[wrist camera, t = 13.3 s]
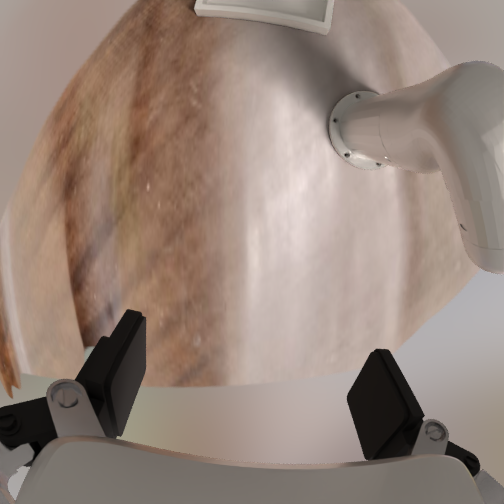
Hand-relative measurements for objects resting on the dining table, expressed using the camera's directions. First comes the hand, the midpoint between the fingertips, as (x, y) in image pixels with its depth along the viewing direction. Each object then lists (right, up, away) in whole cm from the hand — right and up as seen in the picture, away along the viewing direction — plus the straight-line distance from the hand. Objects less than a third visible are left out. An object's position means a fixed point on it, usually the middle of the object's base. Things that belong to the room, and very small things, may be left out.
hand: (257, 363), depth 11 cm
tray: (+2, +46, +21) cm, 50 cm away
